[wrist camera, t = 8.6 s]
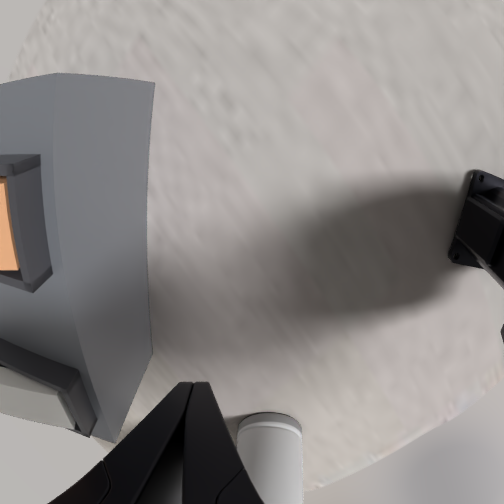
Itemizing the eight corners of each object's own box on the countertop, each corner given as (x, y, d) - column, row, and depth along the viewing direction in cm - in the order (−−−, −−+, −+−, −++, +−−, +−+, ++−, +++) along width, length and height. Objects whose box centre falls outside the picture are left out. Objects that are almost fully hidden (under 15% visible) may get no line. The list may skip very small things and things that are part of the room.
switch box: (155, 82, 15) (28, 72, 6) (152, 353, 24) (108, 460, 15) (48, 89, 15) (-79, 107, 6) (71, 331, 24) (13, 417, 15)
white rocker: (62, 377, 13) (56, 395, 12) (77, 412, 14) (74, 429, 13) (-14, 362, 12) (-22, 378, 10) (6, 398, 13) (0, 412, 12)
